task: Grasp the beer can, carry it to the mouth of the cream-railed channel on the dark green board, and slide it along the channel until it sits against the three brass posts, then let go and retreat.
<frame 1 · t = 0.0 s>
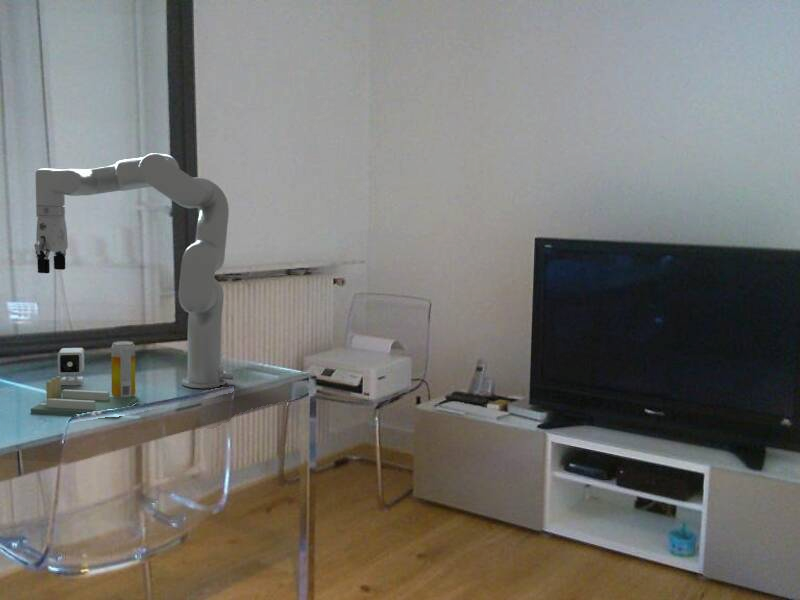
hand: (51, 271, 228), 31 cm above the table, tool pointing down, fingers open, 9 cm apart
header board: (86, 408, 202), on the table
beer can: (123, 397, 214), on the table
security camera: (71, 384, 225), on the table
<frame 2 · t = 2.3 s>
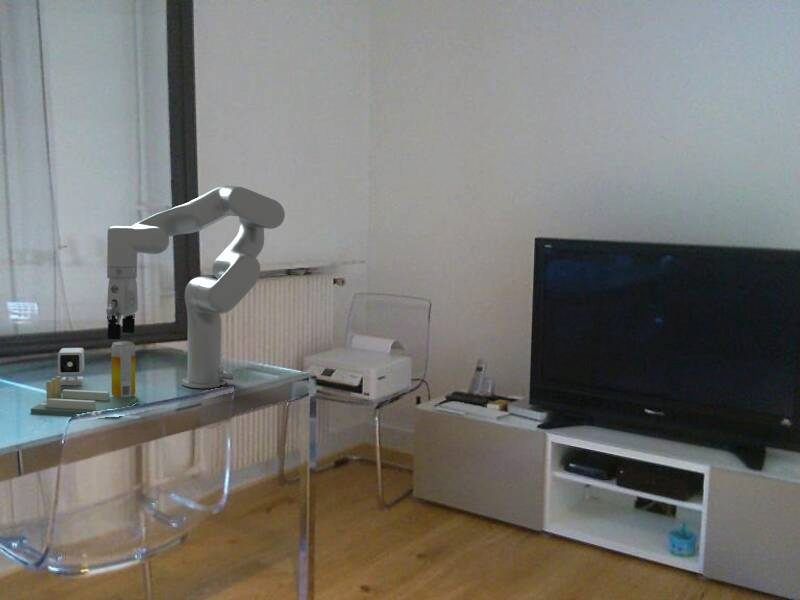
hand: (121, 335, 211), 17 cm above the table, tool pointing down, fingers open, 9 cm apart
nothing on the table moved.
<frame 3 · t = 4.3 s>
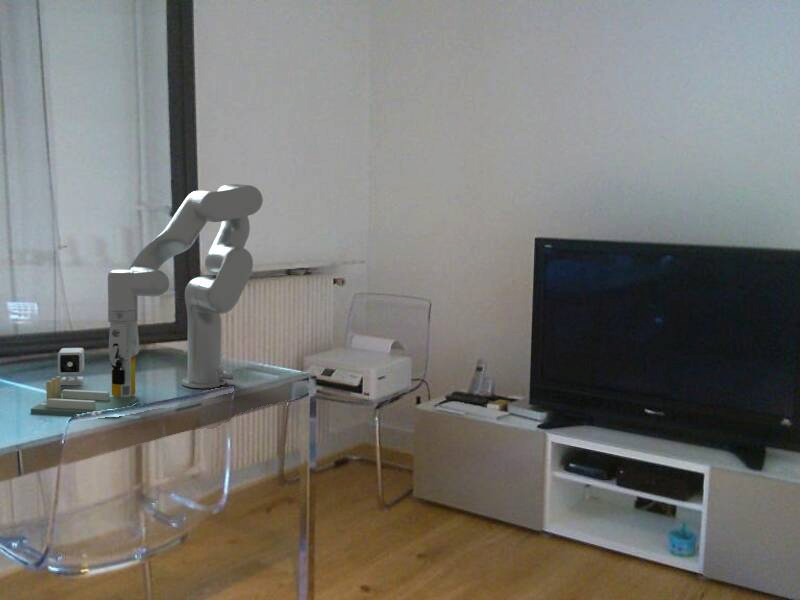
hand: (123, 380, 213), 5 cm above the table, tool pointing down, fingers closed on beer can, 6 cm apart
beer can: (123, 397, 214), on the table, touching gripper
everything else where it was.
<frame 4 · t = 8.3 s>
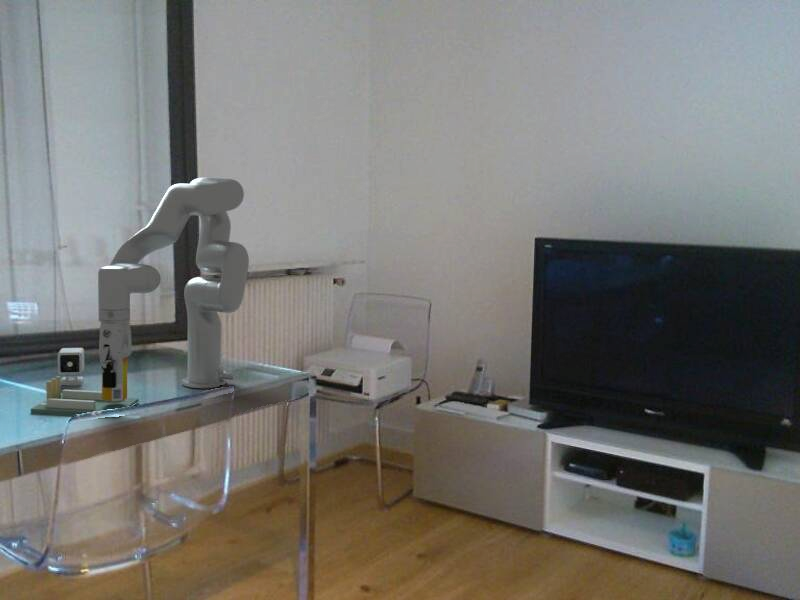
hand: (115, 383, 201), 7 cm above the table, tool pointing down, fingers closed on beer can, 6 cm apart
beer can: (114, 401, 202), point 2 cm above the table, touching gripper
everything else where it was.
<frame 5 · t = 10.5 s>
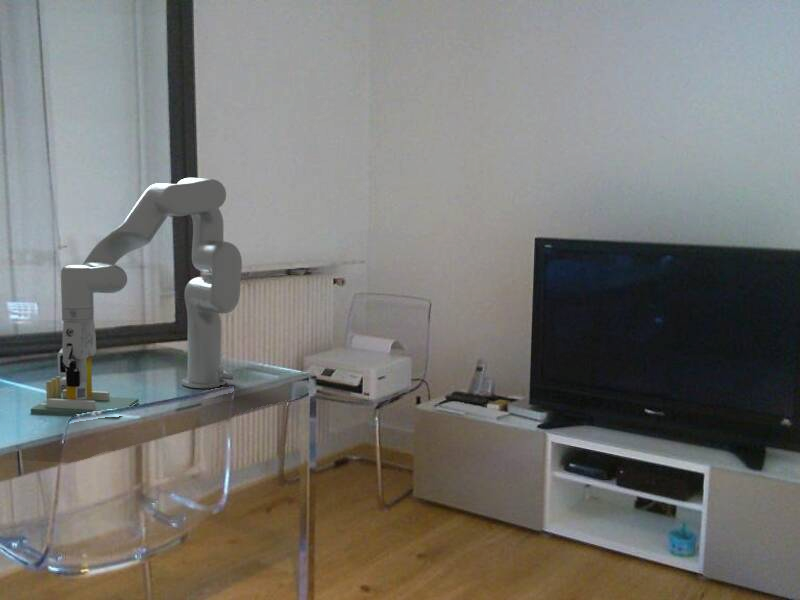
hand: (79, 382, 201), 7 cm above the table, tool pointing down, fingers closed on beer can, 6 cm apart
beer can: (79, 400, 202), point 2 cm above the table, touching gripper
everything else where it was.
when the fingers open (7 cm above the table, at t = 12.4 s): beer can stays where it is, resting on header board.
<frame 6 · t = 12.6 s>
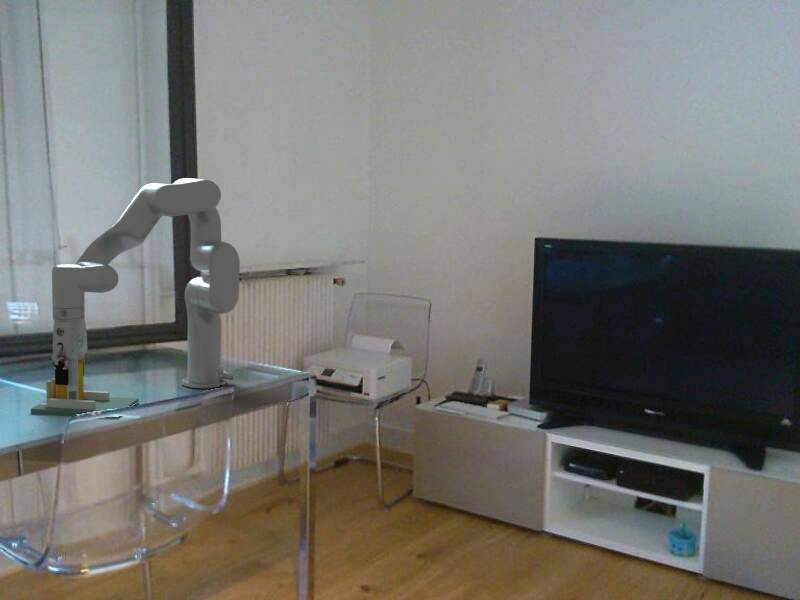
hand: (70, 380, 201), 7 cm above the table, tool pointing down, fingers open, 8 cm apart
beer can: (70, 403, 202), point 1 cm above the table, touching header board
everything else where it was.
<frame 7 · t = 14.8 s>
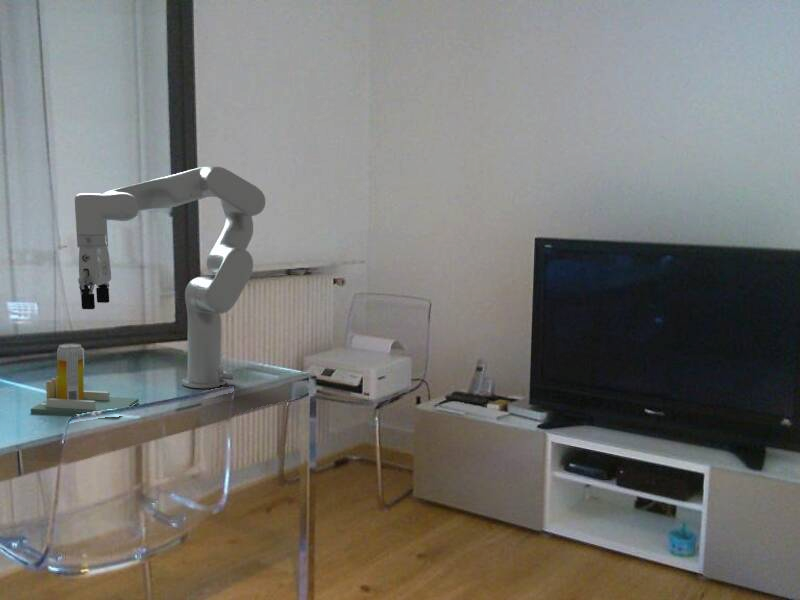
hand: (95, 305, 207), 25 cm above the table, tool pointing down, fingers open, 9 cm apart
nothing on the table moved.
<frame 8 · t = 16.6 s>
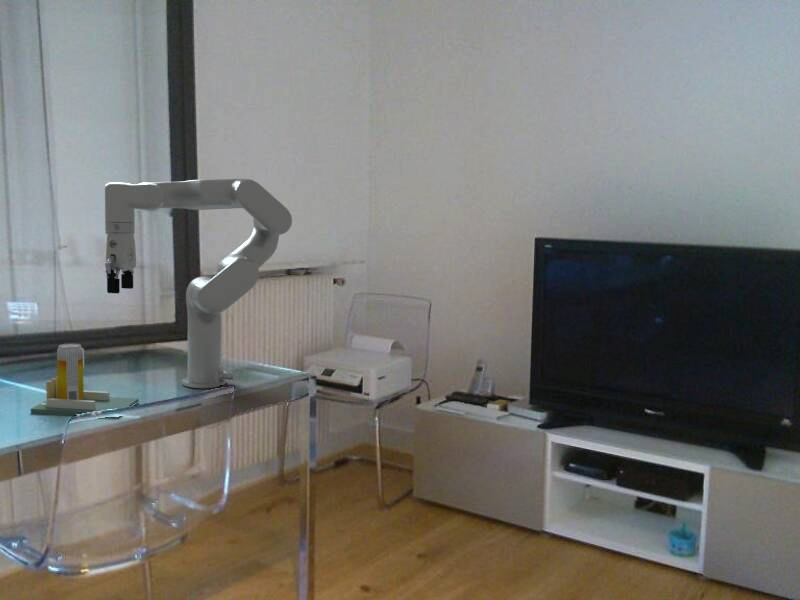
hand: (120, 290, 216), 28 cm above the table, tool pointing down, fingers open, 9 cm apart
nothing on the table moved.
at the end: beer can 0.3 cm from the target spot on the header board, point 1.0 cm above the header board's base; beer can tilted 0°; the gripper is holding nothing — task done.
